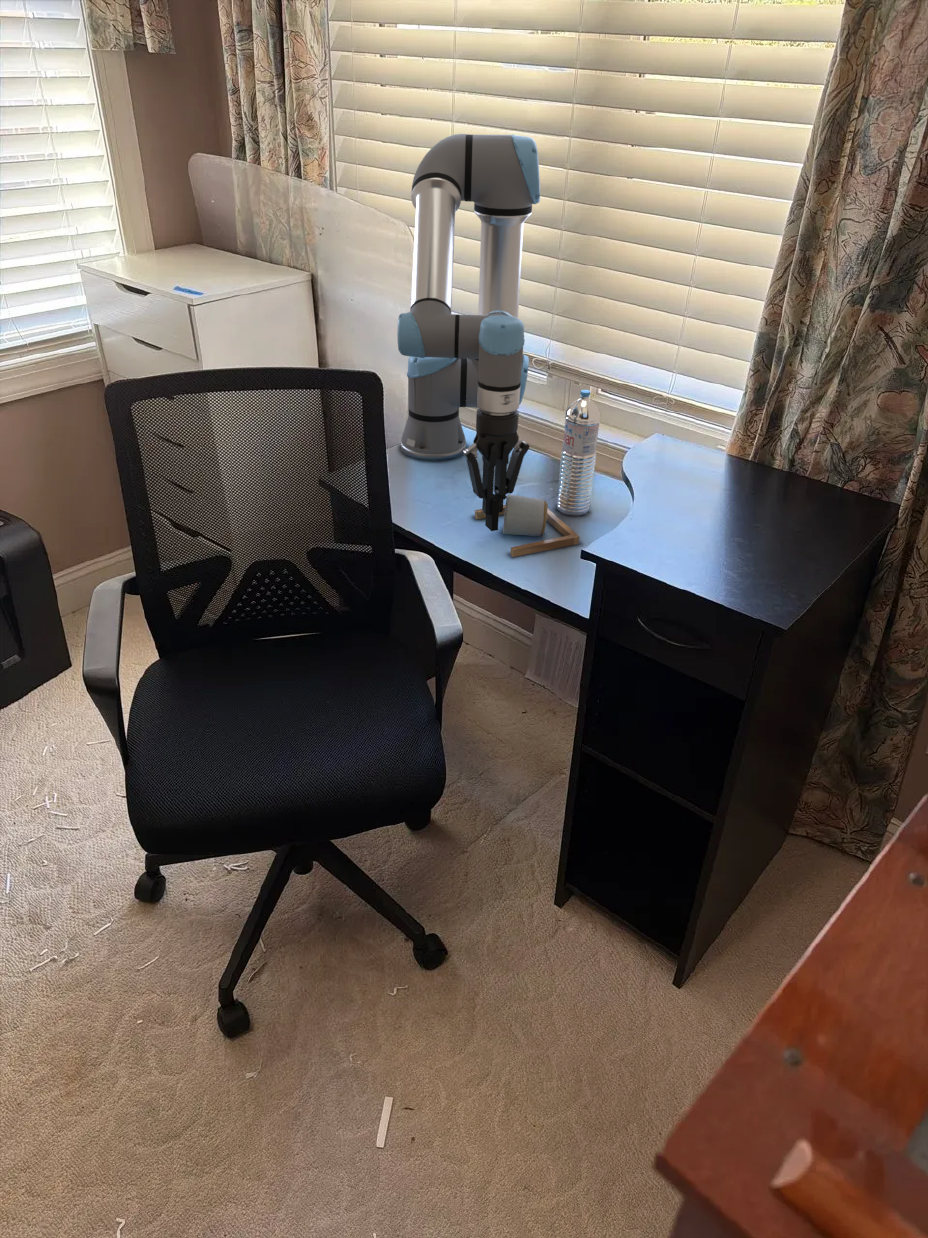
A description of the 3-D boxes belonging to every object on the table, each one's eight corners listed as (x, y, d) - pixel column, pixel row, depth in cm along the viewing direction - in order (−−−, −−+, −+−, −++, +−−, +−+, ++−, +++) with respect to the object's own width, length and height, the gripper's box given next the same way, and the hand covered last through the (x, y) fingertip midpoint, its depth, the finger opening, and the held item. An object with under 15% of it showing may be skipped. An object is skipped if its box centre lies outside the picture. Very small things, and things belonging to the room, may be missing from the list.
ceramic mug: (545, 543, 163) (549, 506, 159) (502, 540, 163) (505, 504, 159) (543, 518, 172) (546, 483, 168) (502, 516, 172) (505, 481, 168)
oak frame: (474, 517, 172) (474, 510, 171) (536, 505, 177) (537, 498, 176) (512, 557, 159) (513, 549, 158) (578, 543, 164) (579, 536, 163)
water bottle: (555, 501, 179) (566, 384, 165) (588, 502, 178) (602, 385, 164) (556, 516, 173) (568, 396, 159) (590, 517, 173) (605, 398, 159)
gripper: (473, 420, 145) (468, 542, 159) (540, 411, 150) (530, 530, 163) (455, 406, 151) (452, 524, 164) (520, 398, 156) (512, 514, 169)
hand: (491, 527), depth 164 cm, fingers closed
